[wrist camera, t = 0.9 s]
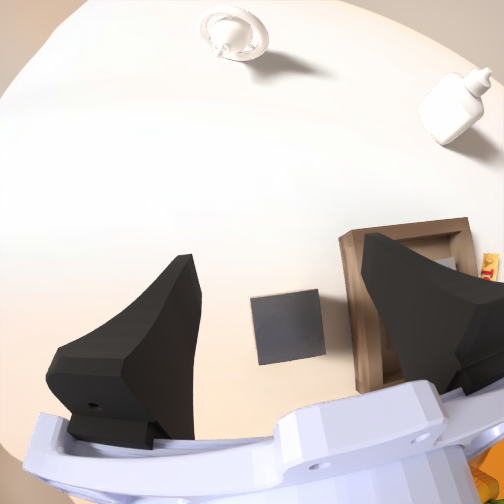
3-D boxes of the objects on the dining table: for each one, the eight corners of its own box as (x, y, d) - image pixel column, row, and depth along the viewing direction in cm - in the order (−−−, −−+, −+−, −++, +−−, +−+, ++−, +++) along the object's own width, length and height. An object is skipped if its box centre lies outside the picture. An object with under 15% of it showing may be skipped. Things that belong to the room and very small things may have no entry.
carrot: (415, 455, 23) (494, 520, 8) (450, 438, 23) (533, 487, 8) (412, 485, 22) (478, 551, 7) (445, 469, 22) (517, 521, 7)
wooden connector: (301, 336, 25) (325, 354, 17) (254, 343, 24) (258, 365, 17) (295, 290, 25) (317, 288, 17) (248, 297, 25) (250, 298, 17)
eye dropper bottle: (422, 141, 28) (483, 83, 16) (414, 102, 28) (463, 41, 17) (451, 149, 28) (513, 100, 16) (442, 111, 29) (494, 59, 17)
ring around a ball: (271, 57, 29) (276, 5, 21) (254, 89, 28) (256, 36, 20) (207, 43, 29) (201, -6, 21) (186, 73, 28) (173, 23, 20)
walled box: (461, 354, 24) (482, 358, 21) (356, 389, 24) (370, 401, 20) (447, 224, 26) (467, 217, 23) (338, 238, 26) (351, 229, 22)
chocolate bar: (458, 358, 25) (470, 361, 23) (479, 253, 27) (492, 250, 24) (472, 361, 25) (484, 364, 23) (492, 260, 26) (505, 257, 24)
